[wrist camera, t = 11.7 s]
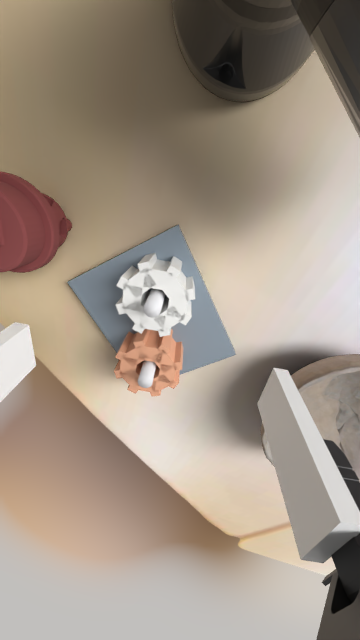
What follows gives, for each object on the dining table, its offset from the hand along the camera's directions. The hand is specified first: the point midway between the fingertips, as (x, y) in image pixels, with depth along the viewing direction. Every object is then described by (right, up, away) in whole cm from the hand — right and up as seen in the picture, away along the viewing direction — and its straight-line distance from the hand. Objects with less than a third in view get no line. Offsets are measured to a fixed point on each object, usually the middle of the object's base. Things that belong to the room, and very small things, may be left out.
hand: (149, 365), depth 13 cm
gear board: (-2, +3, +25) cm, 25 cm away
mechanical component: (-16, +16, +19) cm, 30 cm away
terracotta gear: (-3, -2, +26) cm, 26 cm away
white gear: (-1, +7, +21) cm, 22 cm away
